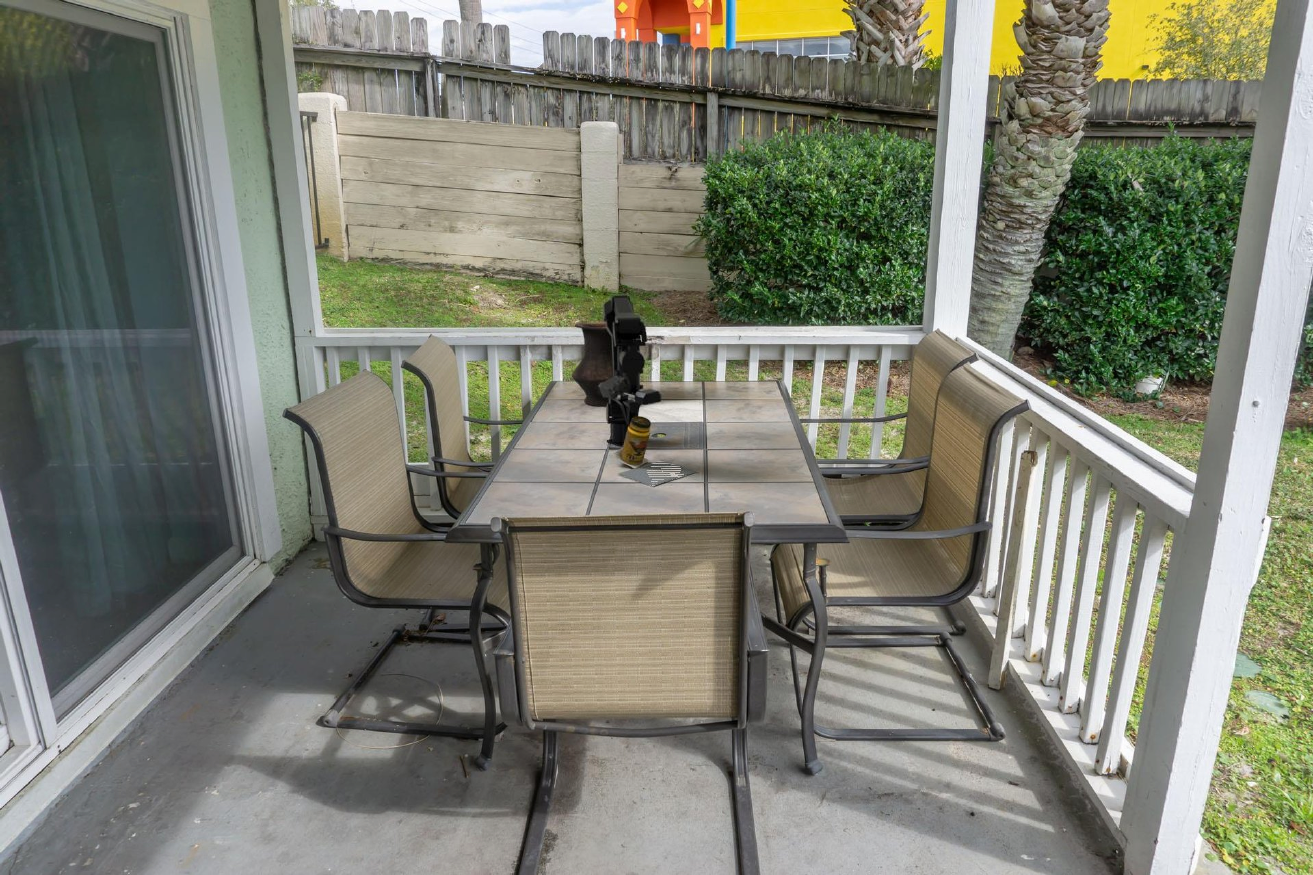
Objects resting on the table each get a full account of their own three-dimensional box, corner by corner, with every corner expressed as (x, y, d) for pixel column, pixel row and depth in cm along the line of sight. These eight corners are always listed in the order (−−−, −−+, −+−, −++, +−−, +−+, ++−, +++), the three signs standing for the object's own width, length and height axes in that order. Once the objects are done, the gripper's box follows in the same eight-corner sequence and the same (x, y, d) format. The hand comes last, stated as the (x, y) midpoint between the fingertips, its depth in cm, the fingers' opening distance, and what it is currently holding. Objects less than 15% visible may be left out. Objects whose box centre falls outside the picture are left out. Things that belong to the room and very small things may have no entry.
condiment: (635, 469, 232) (645, 429, 227) (608, 455, 235) (618, 415, 230) (649, 460, 238) (659, 421, 233) (623, 447, 241) (632, 408, 236)
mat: (617, 474, 229) (617, 473, 229) (661, 461, 240) (661, 460, 240) (652, 486, 220) (652, 485, 220) (697, 472, 231) (697, 471, 231)
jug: (563, 407, 294) (560, 317, 286) (584, 394, 311) (581, 308, 303) (624, 412, 288) (623, 320, 280) (641, 399, 305) (641, 311, 297)
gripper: (581, 365, 231) (582, 423, 235) (629, 376, 218) (630, 437, 222) (613, 359, 238) (614, 415, 243) (662, 369, 225) (662, 429, 230)
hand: (629, 424), depth 234 cm, fingers closed
